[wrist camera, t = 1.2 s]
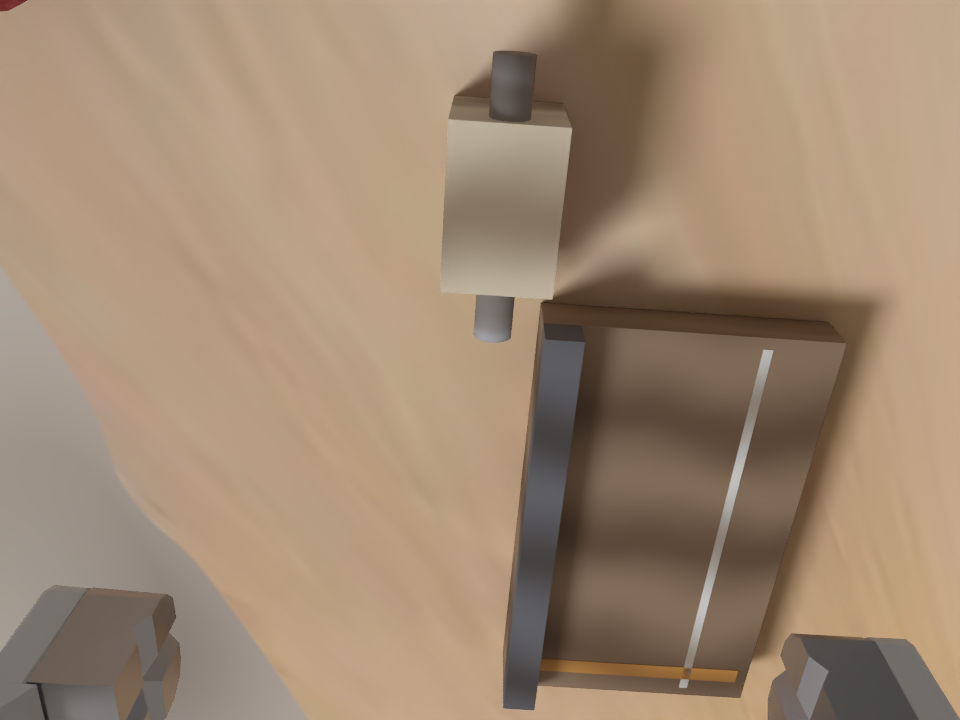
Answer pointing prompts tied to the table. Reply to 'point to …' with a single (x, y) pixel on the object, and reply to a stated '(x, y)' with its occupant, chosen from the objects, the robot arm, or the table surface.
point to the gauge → (504, 195)
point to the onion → (9, 4)
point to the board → (658, 495)
